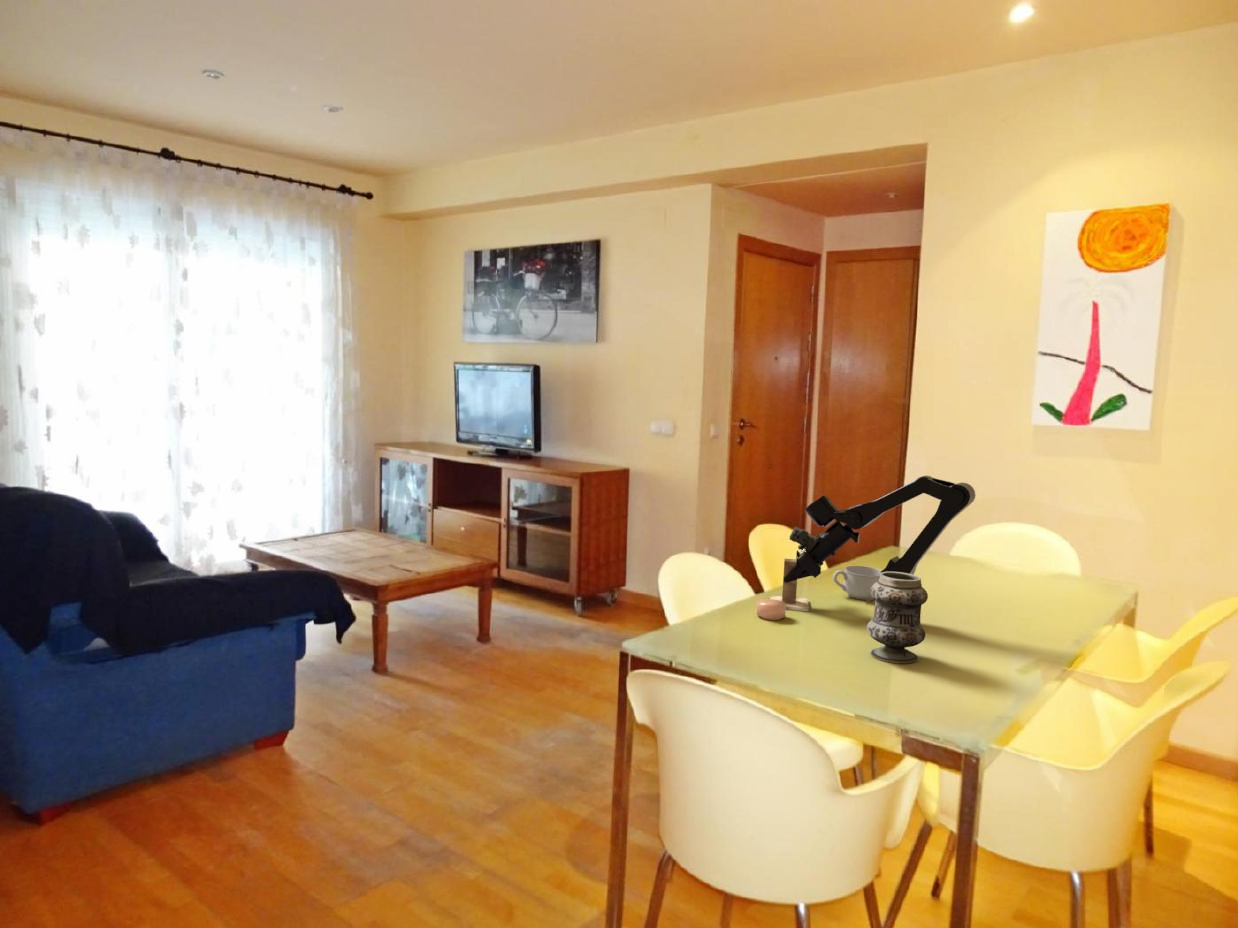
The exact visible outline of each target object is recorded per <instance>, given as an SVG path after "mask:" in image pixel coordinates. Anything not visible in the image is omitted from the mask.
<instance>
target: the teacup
mask: <svg viewBox="0 0 1238 928" xmlns="http://www.w3.org/2000/svg"><path fill="white" fill-rule="evenodd" d="M882 570H883V569H880V568H876V567H873V566H868V565H858V564H857V565H854V564H852V565H846V566H845V567H844V570H842V569H839V570H835V571H834V573H833V574H832V581H833V582H834V583H835V585H836V586H838V587H840V588H841V589H842V591H844V592H845V593H847V595H848V596H849V597H851V598H853V599H857V600H863V601H866V602H867V601H868V602H869V601H870V602H871V601H875V598H873V596H872V595H871V587H872V586H873V585H874V584H875V583H876V582H878V581H879V579H880V574H881V571H882ZM840 574H841V575H842V576H843V583H841V582H839V581H838V576H839V575H840Z"/></svg>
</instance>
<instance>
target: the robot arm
mask: <svg viewBox="0 0 1238 928" xmlns="http://www.w3.org/2000/svg"><path fill="white" fill-rule="evenodd" d="M923 494H926V495H928V496H930V497H933V498H934V499H937V500H939V505H938V507H937V510H936V512H935V514H934V515H933V516H932V517H931V518H930V520H928V523H927V524H926V525H925V527H924V528H923V529H922V531H921V532H920V533H919V534H918V535H917V537H916V538H915V539H914V541H913V542H912V544H911V545H910V546H909V547H908V549H907V550H906V551H905V553H904V554H903V555H902V556H901V557H899V556H898V555H896V556H894V557H892V558H891V559H890V560H888V561H887V564H886V566H885V567H884V569H881V570H882V571H881V573H882V572H901V573H908V574H912V575H915V571H916V570H917V567H918V564H919V563H920V562H921V560H922V559H923V558H924V556H925V555H926V554H927V552H928V551H929V550H930V548H931V547H932V546H933V545H934V544H935V542H936V541H937V539H938V538H939V537H940V535H941V534H942V533H944V531H945V529H946V528H947V527H948V526H949V524H950V523H951V521H953V520H954V519H955V518H956V517H957V516H959V515H960V514H961V513H962V512H963V511H964V510H965V509H967V508H968V507H969V506H970V505H971V504H972V503H973V502H974V501H975V498H976V491H975V489H974V487H973V486H972V485H971V484H969V483H968V482H962V481H961V482H958V483H955V482H951V481H946V480H943V479H939V478H935V477H932V476H930V475H923V476H920V477H917V478H916V479H915V480H913V481H911V482H910V483H907V484H905V485H903V486H901V487H900V488H897V489H896V490H893V491H891V492H889V493H888V494H885V495H883V496H881V497H879V498H878V499H875V500H871V501H868V502H863V503H860V504H857V505H854V506H851V507H849V508H848V509H845V508H842V509H839V508H837V507H836V506H835V504H834V503H833V502H832V501H831V499H830V497H829V496H828V495H826V494H823V495H822V496H820V497H819V498H817V499H816V500H815V501H814V502H812V503H810V504H809V505H808V506H807V507H806V508H805V510H804V512H805V513H806V514H807V515H808V517H809V518H810V519H811V520H812V521H813V523H814V524H816V526H817V527H818V528H822V527H823V528H824V529H826V528H827V529H826V530H825V531H823V532H822V533H817V534H816V535H815V536H814V535H813V534H811V533H809V532H808V531H806V530H804V529H803V528H800V527H798V526H794V528H793V530H792V532H791V533H790V535H789V540H790V541H792V542H793V543H797V544H798V546H797V548H798V550H796V555H795V559H797V560H796V565H795V566H794V567H793V568H792V570H791V571H790V572H789V573H788V574H787V576H786V577H785V578H784V581H785V582H786V583H787V582H791V581H794V580H797V581H798V580H801V579H804V578H808V577H813V578H814V579H816V578H817V577H818V576H819V575H820V574H821V573H822V566H823V565H824V562H825V561H827V560H828V559H829V558H831V556H832V557H833V556H835V555H836V552H837V551H839V550H840V549H841V548H842V547H843V546H845V545H846V544H847V543H848V542H849V541H851V539H852V541H853V542H854V543H856V544H860V537H861V532H856V530H859V529H860V530H861V529H863V528H865V527H867V526H869V525H871V524H872V523H873V522H875V521H876V520H878V518H880V517H881V516H882V515H883V514H885V513H887V512H888V511H890V510H893V509H894V508H896V507H899V506H900V505H902V504H905V503H906V502H908V501H911V500H913V499H915V498H917V497H919V496H921V495H923ZM834 522H835V523H834ZM844 524H845V525H844ZM830 525H831V526H830ZM829 526H830V527H829ZM799 550H801V551H800V552H799Z"/></svg>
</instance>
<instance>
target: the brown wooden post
mask: <svg viewBox="0 0 1238 928" xmlns="http://www.w3.org/2000/svg"><path fill="white" fill-rule="evenodd" d="M796 560H797V559H796V558H795V559H793V558H784V561H783V563H784V564H783V577H782V595H769V598H770V599H774V600H779V601H783V602H785V603H786V609H787V610H786V611H790V610H798V611H797V612H801V611H809V606H808V601H809V598H804V597H797V587H798V579H797V580H794V581H791V582H787V583H786V582H785V581H784V578H785V577H786V576H787V574H788V573H789V572H790V571H791V570H792V568H793V567H794V566H795V565H796Z"/></svg>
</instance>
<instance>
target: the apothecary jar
mask: <svg viewBox="0 0 1238 928" xmlns="http://www.w3.org/2000/svg"><path fill="white" fill-rule="evenodd" d="M921 579H922V578H921V577H920V576H919V575H916V574H914V575H912V574H908V573H901V572H882V573H881V574H880V579H879V581H878V582H876V583H875V584H874V585H873V586H872V587H871V595H872V596H873V598H875V599H874V601H875V604H874V613H873V618H872V619H870V621H869V622H868V623H867V625H866V630H867V633H868V635H869V636H870V637H871V638H872V639H873V640H875V641H876V642H878V643H880V644H882V646H880V647H877V648H874V649H872V650H871V652H870V655H871V657H873V658H874V659H877V660H879V661H882V662H887V663H891V664H904V665H906V664H907V665H908V664H913V663H917V662H918V660H919V656H918V655H917V654H915V652H913V651H911V650H908V649H907V648H911V647H914V646H918V645H919V644H921V643H923V641H924V640H925V638H926V630H925V628H924V627H923V626H922V625H921V614H922V612H921V611H922V605H924V604H926V602H927V601H928V597H929V594H928V592H927V590H926V588H924V587H923V584H922V580H921ZM883 645H884V646H883Z"/></svg>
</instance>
